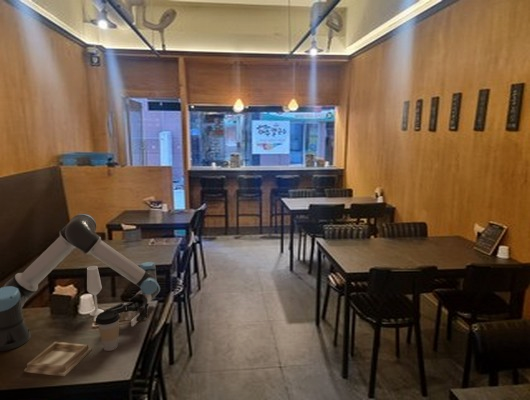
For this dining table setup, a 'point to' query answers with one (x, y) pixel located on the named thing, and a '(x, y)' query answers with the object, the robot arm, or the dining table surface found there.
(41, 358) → the wooden tray
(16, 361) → the dining table surface
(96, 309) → the champagne flute
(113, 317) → the coffee cup
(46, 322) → the dining table surface
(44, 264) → the robot arm
